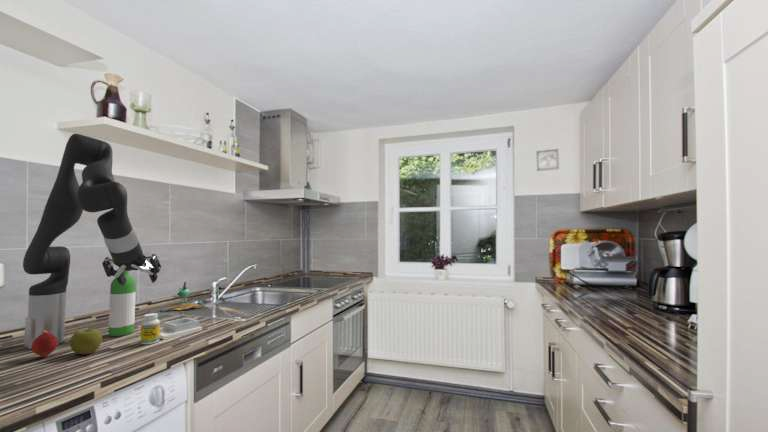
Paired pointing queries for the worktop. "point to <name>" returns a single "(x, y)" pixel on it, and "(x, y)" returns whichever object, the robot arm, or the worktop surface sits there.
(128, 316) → the wine bottle
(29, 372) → the worktop surface
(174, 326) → the end holder
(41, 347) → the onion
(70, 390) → the worktop surface
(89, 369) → the worktop surface
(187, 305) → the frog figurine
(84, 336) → the apple
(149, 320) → the supplement bottle
